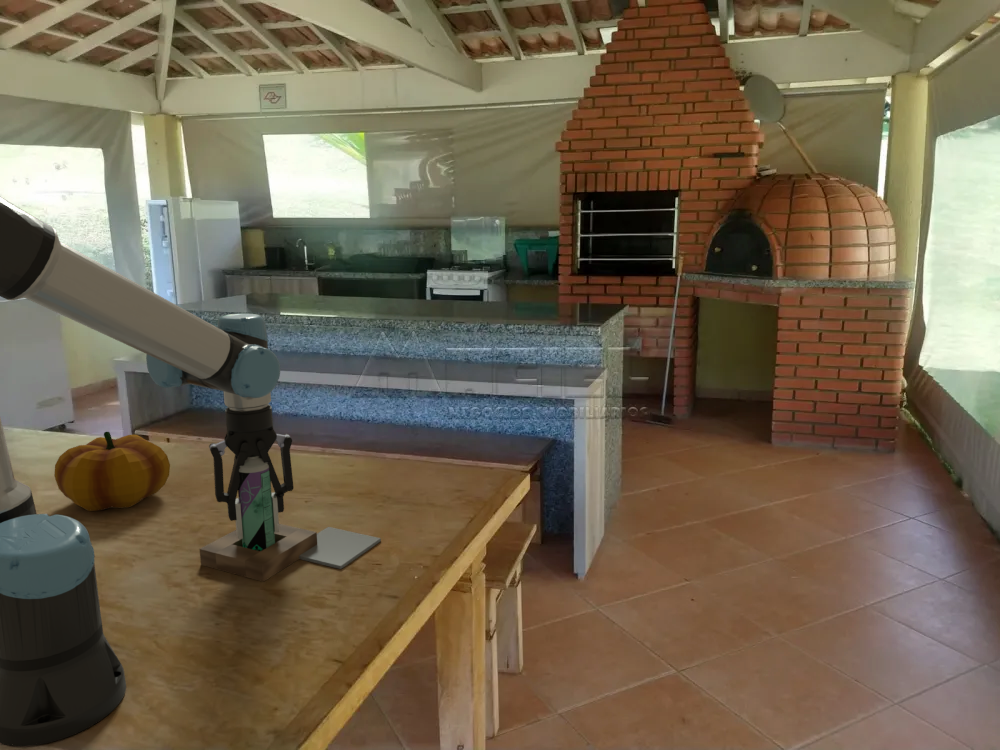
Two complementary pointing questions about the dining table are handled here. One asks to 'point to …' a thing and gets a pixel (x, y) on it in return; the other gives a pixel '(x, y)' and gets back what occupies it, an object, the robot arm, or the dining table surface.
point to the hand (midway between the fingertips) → (258, 532)
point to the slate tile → (338, 547)
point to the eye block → (258, 553)
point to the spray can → (256, 504)
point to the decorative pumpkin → (112, 472)
